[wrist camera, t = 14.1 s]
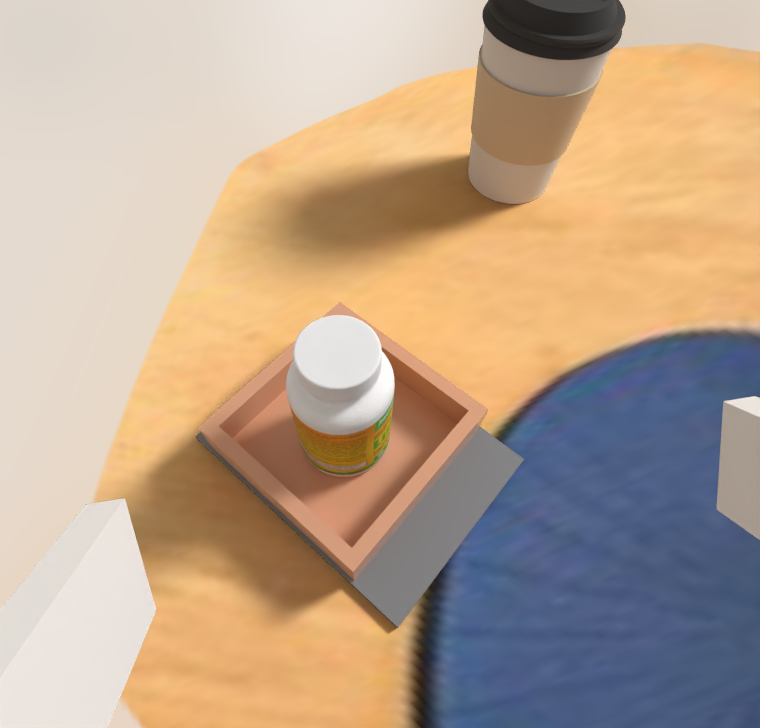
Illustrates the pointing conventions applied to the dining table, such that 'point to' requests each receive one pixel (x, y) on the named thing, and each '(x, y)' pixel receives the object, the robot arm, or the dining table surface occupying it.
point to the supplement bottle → (341, 395)
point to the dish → (355, 493)
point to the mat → (424, 525)
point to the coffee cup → (535, 88)
